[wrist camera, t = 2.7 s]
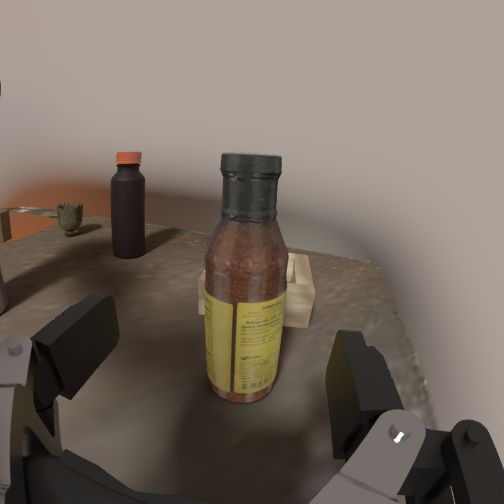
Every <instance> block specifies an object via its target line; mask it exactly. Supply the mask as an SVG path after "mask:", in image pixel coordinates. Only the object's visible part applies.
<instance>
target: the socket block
mask: <svg viewBox="0 0 504 504" xmlns="http://www.w3.org/2000/svg"><path fill="white" fill-rule="evenodd" d="M288 254H289V259H288V266H287V273H286V275H287V294H286V303H285V312H284V320H283V326H288V327H297V328H306V329H308V325H309V320H310V316H311V311H312V306H313V302H314V297H315V290H314V285H313V280H312V275H311V270H310V265H309V260H308V255H301V254H293V253H288ZM204 283H205V271H204V272H203V273H202V275H201V276H200V277H199V289H198V314H202V315H205V308H204Z"/></svg>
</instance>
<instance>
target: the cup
mask: <svg viewBox="0 0 504 504" xmlns="http://www.w3.org/2000/svg"><path fill="white" fill-rule="evenodd" d="M56 208H57V215H58V221H59V224H60V227H61V228H62V229H63V230H65V235H66V236H69V237H71V236H75V235H77V233H78V230H77V228H79V227H80V225H81V223H82V214H83V203H81V202H80V203H79V204H77V202H76V203H75V205H74V204H73V203H71V204H70V203H68V205H67V206H66V205H65V203H64V206H63V205H61V204H59V206H57V207H56Z"/></svg>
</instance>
